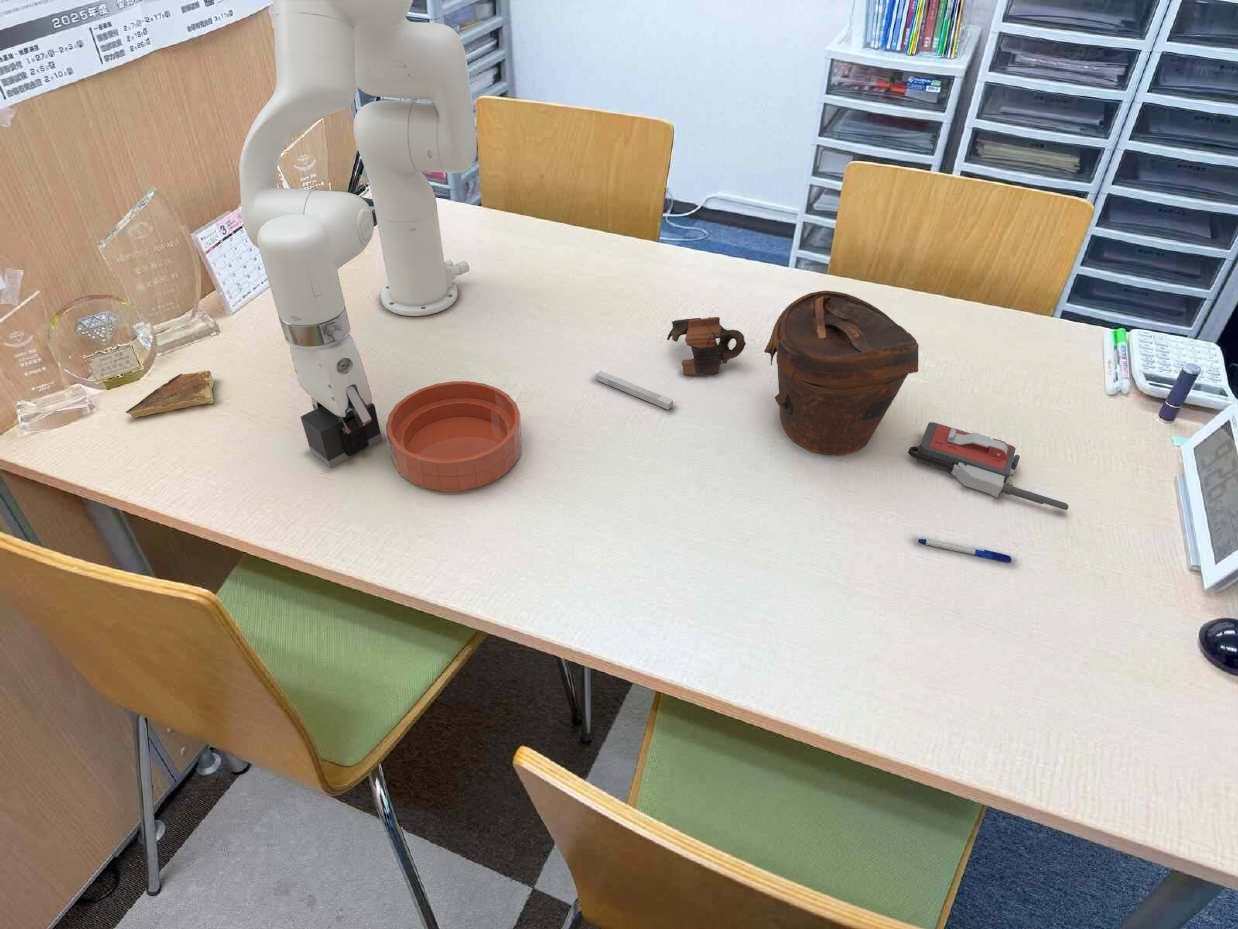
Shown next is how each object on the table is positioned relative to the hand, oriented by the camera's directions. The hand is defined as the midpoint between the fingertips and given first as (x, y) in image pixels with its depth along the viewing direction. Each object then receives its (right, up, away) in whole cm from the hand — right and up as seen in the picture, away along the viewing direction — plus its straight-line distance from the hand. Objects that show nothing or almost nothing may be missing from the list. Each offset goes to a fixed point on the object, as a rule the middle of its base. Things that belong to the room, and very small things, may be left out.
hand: (345, 440), depth 109 cm
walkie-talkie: (+84, -5, -1) cm, 84 cm away
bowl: (+15, -2, 0) cm, 15 cm away
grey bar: (+38, +7, +11) cm, 41 cm away
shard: (-25, +5, +7) cm, 27 cm away
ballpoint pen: (+77, -14, -11) cm, 79 cm away
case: (+65, +2, +6) cm, 65 cm away
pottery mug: (+49, +13, +18) cm, 54 cm away
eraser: (0, -1, +1) cm, 1 cm away
